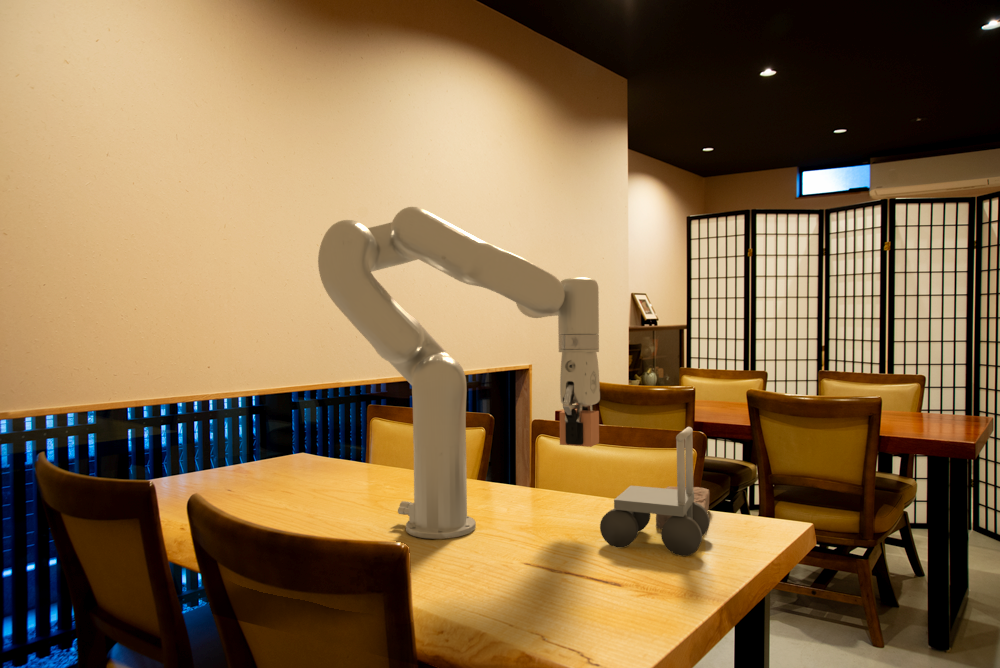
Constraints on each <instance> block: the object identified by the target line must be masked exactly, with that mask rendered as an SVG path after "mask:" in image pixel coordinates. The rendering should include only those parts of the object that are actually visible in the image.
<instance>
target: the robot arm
mask: <svg viewBox="0 0 1000 668" xmlns="http://www.w3.org/2000/svg"><path fill="white" fill-rule="evenodd" d="M317 257H318V258H317V259H318V260H317V263H318V264H317V265H318V266H317V267H318V273H319V277H320V281H321V283H322V286H323V288H324V290H325V292H326V294H327V295H328V297H329V299H331V301H332V302H333V303H334V305H335V306H336V307H337V308H338V309H339V310H340V312H341V313H342V314H343V315H344V316H345V317H346V318H347V320H348V321H349V322H350V323H351V324H352V325H353V326H354V327H355V329H356V330H357V331H358V333H360V334H361V336H363V337H364V338H365V340H366V341H368V342H369V344H370V345H371V346H372V348H374V350H375V351H376V353H377V354H378V355H379V357H381V359H384V360H385V361H388V363H389V364H391V366H392V367H393V368H394V369H395V370H396V371H397V372H398V373H399V374H400V375H401V376H402V377H403V379H405V380H406V381H407V382H408V383H409V384H410V386H411V395H412V421H413V422H412V432H413V433H412V434H413V435H412V438H413V440H412V443H413V497H414V498H413V502H411V501H405V500H404V501H403V500H402V501H401V502H400V503H399V507H398V508H397V513H398V515H408V519H409V520H408V521H407V522H406V524H405V531H406V533H408V534H409V535H410V536H413V537H416V538H421V539H433V540H434V539H435V540H436V539H437V540H439V539H440V540H442V539H453V538H459V537H462V536H466V535H468V534H470V533H472V532H473V531H475V529H476V520H475V519H474V518H473V517H471V516H469V515H468V497H467V496H468V495H467V494H468V493H467V492H468V491H467V489H468V488H467V478H468V477H467V441H466V440H467V434H466V433H467V431H466V429H467V428H466V427H467V425H466V424H467V423H466V421H467V420H466V417H467V392H468V391H467V377H466V373H465V370H464V369H463V367H462V365H461V364H460V362H458V361H457V360H456V359H455V358H453V357H452V356H451V355H450V354H449V353H448V352H447V351H446V350H445V349H444V348H443V347H442V346H441V344H439V342H437V340H436V339H435V338H434V336H432V335H431V333H429V331H427V329H425V327H423V325H422V324H421V323H420V321H419V320H418V319H417V318H415V317H414V316H413V315H411V314H410V313H408V312H407V311H406V309H404V308H403V306H401V305H400V304H399V303H398V302H397V301H396V300H395V298H393V296H391V294H390V293H389V292H388V291H387V290H386V288H384V286H383V285H382V284H381V283H380V282H379V281H378V280H377V279H376V278H375V276H374V275H373V273H372V272H375V271H380V270H383V269H387V268H392V267H395V266H400V265H404V264H406V263H407V264H408V263H411V262H413V261H417V260H419V261H421V262H423V263H425V264H427V265H429V266H431V267H433V268H435V269H436V270H438V271H440V272H442V273H444V274H446V275H447V276H449V277H451V278H453V279H454V280H457V281H459V282H461V283H463V284H466V285H469V286H474V287H481V288H485V289H487V290H489V291H491V292H495V293H497V294H498V295H501V296H502V297H504V298H506V299H509V300H510V301H512V302H514V303H515V304H516V307H517V309H518V310H519V312H521V314H523V316H526V317H529V318H533V319H539V318H541V319H542V318H546V317H547V318H548V317H555V316H557V317H558V318H557V319H558V324H557V325H558V326H557V327H558V329H557V330H558V335H557V336H558V353H561V361H560V374H559V376H560V377H559V378H560V379H559V381H560V383H559V390H560V391H559V395H560V403H561V404H562V408H563V411H564V412H565V422H566V444H574V445H582V444H583V423H581V417H582V410H589V411H593V408H594V406H593V405H596V404H598V403H599V402H600V400H601V389H600V386H601V385H600V384H601V383H600V369H599V362H598V355H597V353H599V352H600V332H599V331H600V330H599V329H600V318H599V316H600V315H599V310H600V308H599V303H600V302H599V300H600V299H599V293H600V292H599V285H598V284H599V283H598V282H597V280H595V279H593V278H590V277H589V278H588V277H571V278H565V279H562V280H561V281H560V280H559V278H557V276H555V275H553V274H552V273H551V272H549V271H547V270H545V269H544V268H541V267H539V266H538V265H536V264H535V263H532V262H530V261H529V260H527V259H525V258H524V257H522V256H519V255H517V254H514V253H513V252H509V251H507V250H504V249H503V248H500V247H498V246H495V245H494V244H491V243H490V242H486V241H484V240H482V239H480V238H478V237H476V236H474V235H472V234H471V233H468V232H466V231H464V230H463V229H461V228H459V227H457V226H455V225H454V224H452V223H450V222H448V221H446V219H445V220H444V219H443V218H441V217H439V216H437V215H435V214H434V213H432V212H429V211H428V210H425V209H424V208H421V207H418V206H407V207H404V208H402V209H401V210H399V211H398V213H397V214H395V216H394V218H393V219H392V221H390V222H387V223H384V224H379V225H376V226H370V227H366V226H365V225H364V224H362V223H361V222H359V221H356V220H352V219H343V220H340V221H337V222H335V223H334V224H332V225H331V226H330V227H329V228H328V229H327V230H326V232H325V234H324V236H323V238H322V240H321V243H320V247H319V251H318V256H317ZM576 410H577V413H576Z"/></svg>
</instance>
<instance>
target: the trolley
mask: <svg viewBox="0 0 1000 668" xmlns="http://www.w3.org/2000/svg"><path fill="white" fill-rule="evenodd" d="M693 431H694V430H693V428H692V427H691V426H687V427H686V428H684V429H683V430H682V431H680V432H679V433H678V434H677V435H676V436H675V440H676V480H677V481H676V483H677V486H676V487H677V490H676V489H666V488H665V487H664V488H663V487H662V488H661V487H651V486H640V485H629V486H628V487H627V488H626V489H625V490H624V491H622V492H621V493H620V494H618V495H617V497H616V498H614V499H613V509H611V510H609V511H608V512H606V513H605V514H604V515H603V516H602V518H601V519H600V524H599V529H600V534H601V536H602V538H603V539H604V541H605V542H606V543H607V544H609V546H611V547H614V548H618V549H619V548H620V549H623V548H627V547H629V546H630V545H631V544H632V543H633V542H634V541H635V539H637V537H638V534H639V532H641V531H642V530H644V529H645V528H646V527H647V526H648V524H649V523H650V519H651V514H653V515H656V514H661V515H671V516H672V517H670V518H669V519H668V520H667V521H666V523H665V524H664V525H663V527H662V529H661V533H660V534H661V535H660V536H661V540H662V543H663V545H664V546H665V548H666V549H667V551H669V552H670V553H672V554H674V555H676V556H680V557H688V556H691V555H693V554H694V553H696V551H697V550H698V549H699V547H700V546H701V543H702V539H703V537H704V535H706V533H707V531H708V529H709V527H710V523H711V522H710V516H709V513H708V512H707V511H706V510H705V509H704V507H702V506H701V505H700V504H698V503H695V502H694V491H693V487H694V458H693V457H694V453H693V452H694V451H693V450H694V449H693V433H694V432H693ZM685 487H686V490H685Z"/></svg>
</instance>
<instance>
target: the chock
mask: <svg viewBox="0 0 1000 668" xmlns="http://www.w3.org/2000/svg"><path fill="white" fill-rule="evenodd" d="M575 410H576V413H577V409H575ZM581 423H583V444H582V445H574V444H566V422H565V412H564V410H562V411H559V445H562V446H575V447H585V448H586V447H588V448H591V447H593V446H596V445H597V444H600V411H599V410H592V411H589V410H582V417H581Z"/></svg>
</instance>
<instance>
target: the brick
mask: <svg viewBox="0 0 1000 668" xmlns="http://www.w3.org/2000/svg"><path fill="white" fill-rule="evenodd" d="M665 489H676V490H677V486H670V485H669V486H667V487H665ZM685 490H686V486H685ZM693 491H694V502H695V503H698V504H700V505H701V506H702V507H704V509H705V510H706V511H709V507H710V506H709V505H710V489H707V488H704V487H699V486H693ZM670 517H672V516H671V515H661V514H655V527H656V528H657V529H660V530H662V527H663V525H664V524H665V523H666V521H667V520H668V519H669V518H670Z"/></svg>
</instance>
